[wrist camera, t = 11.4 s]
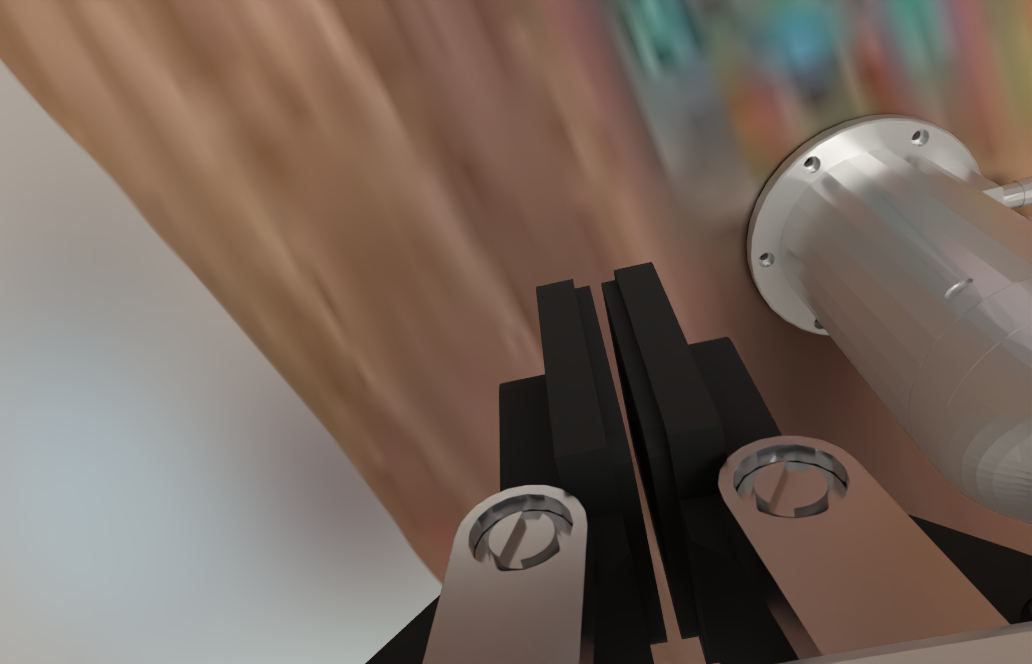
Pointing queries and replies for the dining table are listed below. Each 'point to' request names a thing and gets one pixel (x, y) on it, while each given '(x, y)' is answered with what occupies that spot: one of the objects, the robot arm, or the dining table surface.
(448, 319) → the dining table surface
